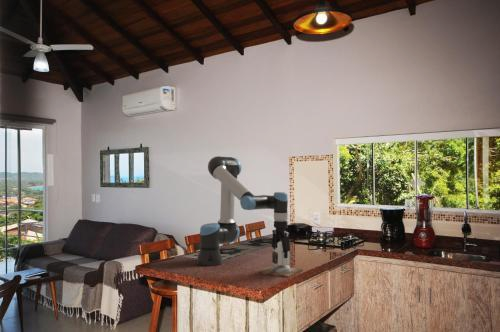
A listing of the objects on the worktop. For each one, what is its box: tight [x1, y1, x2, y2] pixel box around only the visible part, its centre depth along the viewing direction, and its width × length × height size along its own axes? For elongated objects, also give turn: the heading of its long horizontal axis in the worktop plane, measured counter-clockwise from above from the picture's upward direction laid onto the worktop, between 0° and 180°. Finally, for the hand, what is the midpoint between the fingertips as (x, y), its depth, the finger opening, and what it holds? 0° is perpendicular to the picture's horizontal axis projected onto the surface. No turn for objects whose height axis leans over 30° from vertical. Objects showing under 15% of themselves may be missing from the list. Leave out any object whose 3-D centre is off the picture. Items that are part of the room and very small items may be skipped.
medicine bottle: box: [271, 240, 290, 266], centre depth 201 cm, size 7×7×12 cm
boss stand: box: [257, 264, 304, 279], centre depth 200 cm, size 18×18×3 cm
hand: (280, 262), depth 200 cm, fingers closed on medicine bottle, 8 cm apart
